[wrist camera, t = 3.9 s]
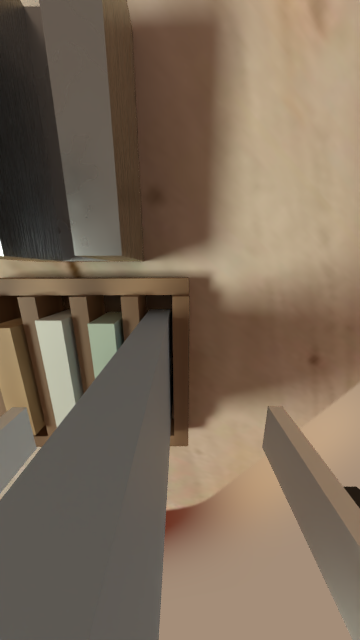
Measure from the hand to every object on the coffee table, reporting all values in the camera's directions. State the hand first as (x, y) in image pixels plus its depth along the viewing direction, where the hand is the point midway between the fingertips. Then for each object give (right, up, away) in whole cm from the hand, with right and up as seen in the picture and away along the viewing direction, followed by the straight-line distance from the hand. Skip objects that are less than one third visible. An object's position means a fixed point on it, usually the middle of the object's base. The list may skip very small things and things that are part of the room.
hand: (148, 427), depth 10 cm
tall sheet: (0, +2, +7) cm, 8 cm away
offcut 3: (-4, +3, +7) cm, 9 cm away
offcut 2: (-7, +2, +8) cm, 11 cm away
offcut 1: (-11, +2, +8) cm, 13 cm away
